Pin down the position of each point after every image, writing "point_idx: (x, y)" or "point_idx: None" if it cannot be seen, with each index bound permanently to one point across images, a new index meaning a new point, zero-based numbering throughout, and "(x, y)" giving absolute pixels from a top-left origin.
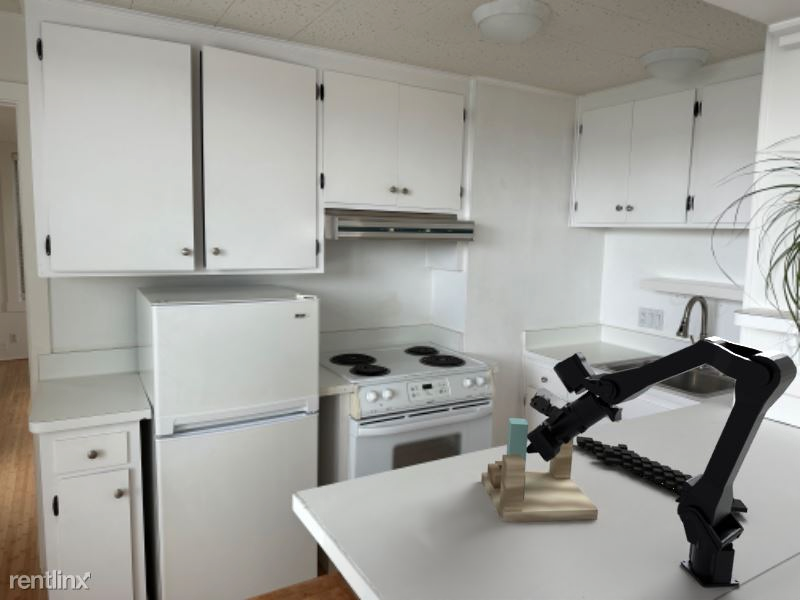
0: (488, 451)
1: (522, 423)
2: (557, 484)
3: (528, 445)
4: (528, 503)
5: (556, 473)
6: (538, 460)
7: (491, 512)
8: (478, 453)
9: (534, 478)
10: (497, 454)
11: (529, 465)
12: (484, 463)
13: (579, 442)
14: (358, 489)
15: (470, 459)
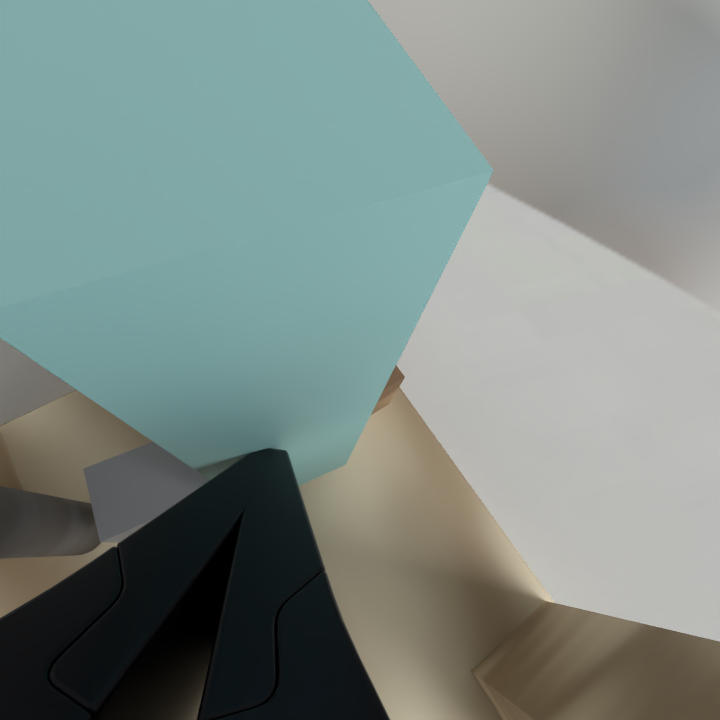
0: (606, 258)
1: (44, 154)
2: (397, 714)
3: (211, 481)
4: (32, 597)
5: (490, 689)
6: (696, 478)
7: (18, 413)
8: (559, 230)
9: (398, 537)
10: (608, 295)
11: (610, 451)
12: (488, 270)
13: None
14: None
15: (486, 218)
